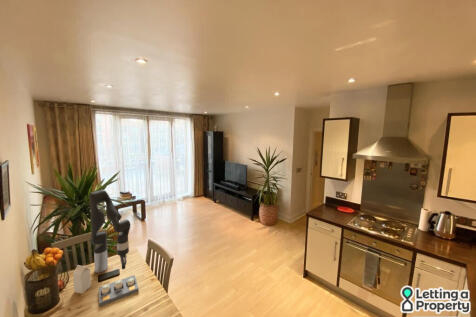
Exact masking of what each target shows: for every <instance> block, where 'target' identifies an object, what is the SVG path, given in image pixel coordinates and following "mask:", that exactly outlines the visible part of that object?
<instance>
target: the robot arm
mask: <svg viewBox="0 0 476 317" xmlns="http://www.w3.org/2000/svg"><path fill="white" fill-rule="evenodd" d="M88 196H89V197H88V199H89V206H90V207H89V208H90V227H91V231H90V232H91V235H90V236H91V237H90V240H91V241H90V242H91V245H92V246H95V247H94V248H93V256H94V259H93V260H94V272H95V273H98V274H100V273H103V272H105V271H107V270H108V268H109V265H108V264H109V263H108V243H107V242H108V241H107V240H108V234H107V232H106V231H100V232H99V230H100V229H101V228H102V226H103V225H105V221H106V216H107V218H108V219H109V220H110V222H111V224H112V228H113V230H114V232H115V233H118V234H117V236H116V243H117V244H116V254H117V255H118V256H119V258H120V263H121V270H125V269H126V265H127V254H129V252H130V250H129V249H130V246H129V244H130V243H129V235H130V234H129V232H130V230H131V222H130V220H129V219H124V220H122V215H121V213H120V212H119V211H118V210H117V208H116V206H115V204H114V203H113V201H112V199H111V197H110V196H109V194H108V192H107V190H105V189H99V190H95V191H93V192H91V193H89V195H88ZM104 202H105V204H106V209H105V212H104V211H103V210H102V209H100V208H99V207H98V204H99V203H104ZM105 213H106V214H105ZM120 220H121V221H120Z"/></svg>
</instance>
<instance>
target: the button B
mask: <svg viewBox="0 0 476 317" xmlns="http://www.w3.org/2000/svg"><path fill="white" fill-rule="evenodd" d="M114 282H115V289H116V290H118V289H121V288H122V280H121V279H118V280H116V281H114Z"/></svg>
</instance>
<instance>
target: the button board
mask: <svg viewBox="0 0 476 317" xmlns="http://www.w3.org/2000/svg"><path fill="white" fill-rule="evenodd" d="M130 278H134V285H132V286H129V287H127V281H128V279H130ZM120 280H122V288H121V289H118V290H116V289H115V282H116V281H113V282H111V283H108V284H109V285H110V291H109V293H107V294H104V295H103V294H102V286H103V285H101V286H99V287H98V302H99V303H98V305H99V308H101V307H104V306H106V304H107V305H109V304H111V303H114V302H118V301H119V300H121V299H124V298H126V297H129V296H131V295H135V294H136V293H139V285H138V282H137V277H136V275H135V274H133V275H130V276H127V277H125V278H121V279H120Z"/></svg>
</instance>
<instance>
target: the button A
mask: <svg viewBox="0 0 476 317" xmlns="http://www.w3.org/2000/svg"><path fill="white" fill-rule="evenodd" d="M109 284H110V283H107V284H104V285H101V286H102V294H103V295H104V294H107V293H109V291H110V285H109Z"/></svg>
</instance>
